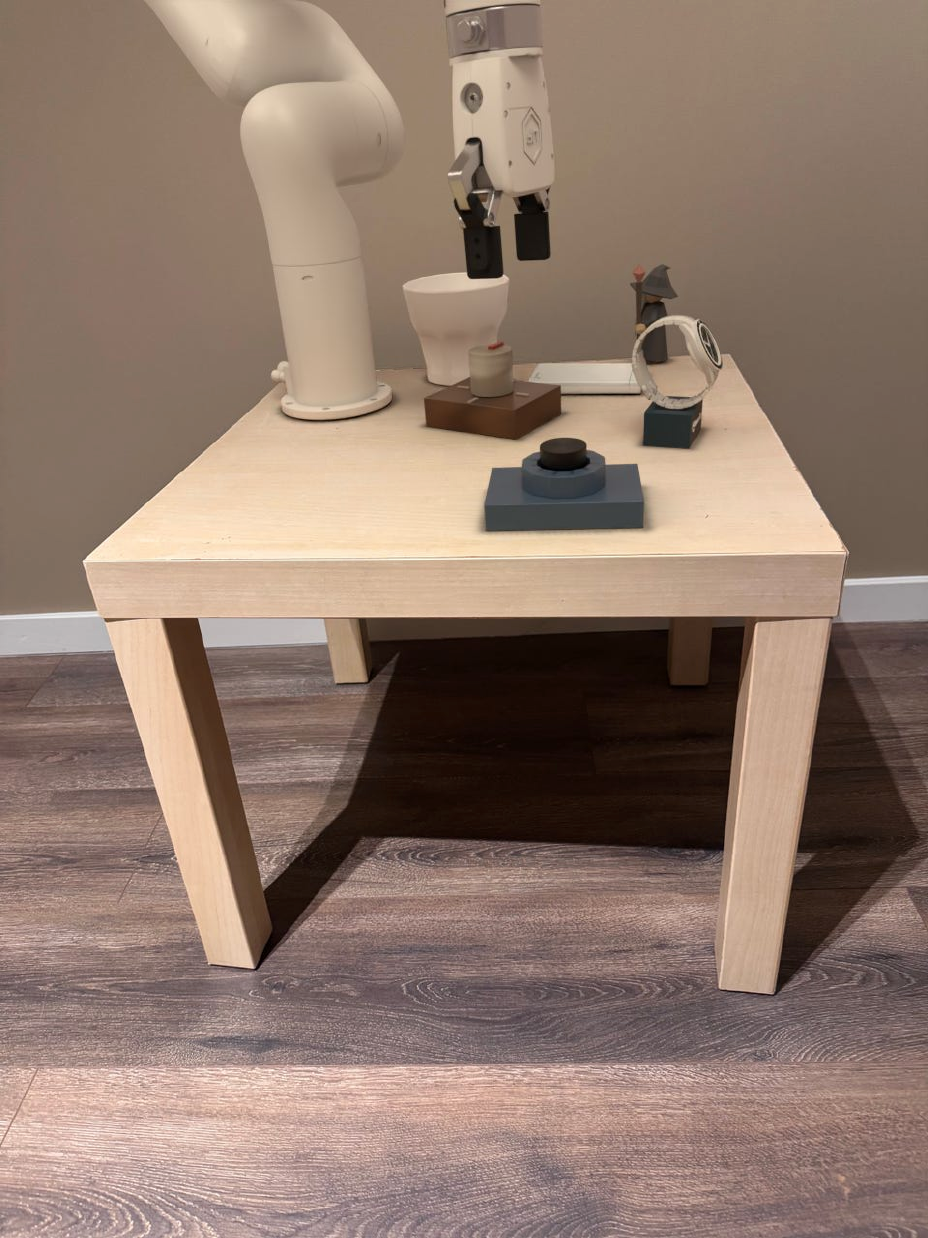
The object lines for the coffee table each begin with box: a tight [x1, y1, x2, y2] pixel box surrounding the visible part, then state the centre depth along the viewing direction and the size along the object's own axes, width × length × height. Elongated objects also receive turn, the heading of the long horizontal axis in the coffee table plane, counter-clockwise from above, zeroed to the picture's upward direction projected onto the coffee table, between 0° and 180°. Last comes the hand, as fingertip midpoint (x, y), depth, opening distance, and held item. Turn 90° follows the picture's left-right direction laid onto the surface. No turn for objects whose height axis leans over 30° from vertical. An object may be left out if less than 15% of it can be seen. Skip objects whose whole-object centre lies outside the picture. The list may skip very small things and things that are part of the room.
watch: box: [630, 314, 724, 450], centre depth 83 cm, size 6×8×11 cm
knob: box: [468, 341, 514, 397], centre depth 91 cm, size 4×4×4 cm
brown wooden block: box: [423, 377, 562, 440], centre depth 93 cm, size 11×9×3 cm
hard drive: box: [527, 362, 642, 395], centre depth 103 cm, size 2×8×12 cm
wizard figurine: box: [630, 263, 679, 365], centre depth 106 cm, size 8×6×12 cm
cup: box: [401, 271, 510, 387], centre depth 107 cm, size 12×12×11 cm
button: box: [539, 437, 588, 472], centre depth 70 cm, size 4×4×2 cm
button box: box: [483, 449, 645, 532], centre depth 72 cm, size 12×8×4 cm, turn 84°
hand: (510, 268), depth 80 cm, fingers open, 9 cm apart
